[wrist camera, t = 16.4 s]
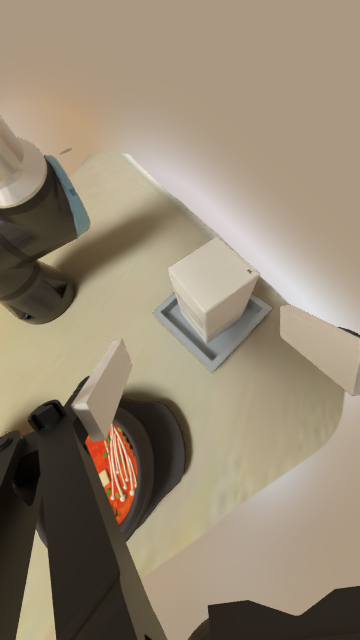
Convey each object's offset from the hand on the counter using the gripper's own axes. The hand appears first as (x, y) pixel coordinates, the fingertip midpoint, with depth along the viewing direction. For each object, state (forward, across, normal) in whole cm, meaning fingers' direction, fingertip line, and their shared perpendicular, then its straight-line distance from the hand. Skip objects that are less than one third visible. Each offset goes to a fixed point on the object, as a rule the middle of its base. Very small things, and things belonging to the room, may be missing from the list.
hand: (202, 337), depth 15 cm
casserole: (+7, -18, -23) cm, 30 cm away
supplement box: (+21, +4, -7) cm, 23 cm away
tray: (+22, +4, -8) cm, 24 cm away
